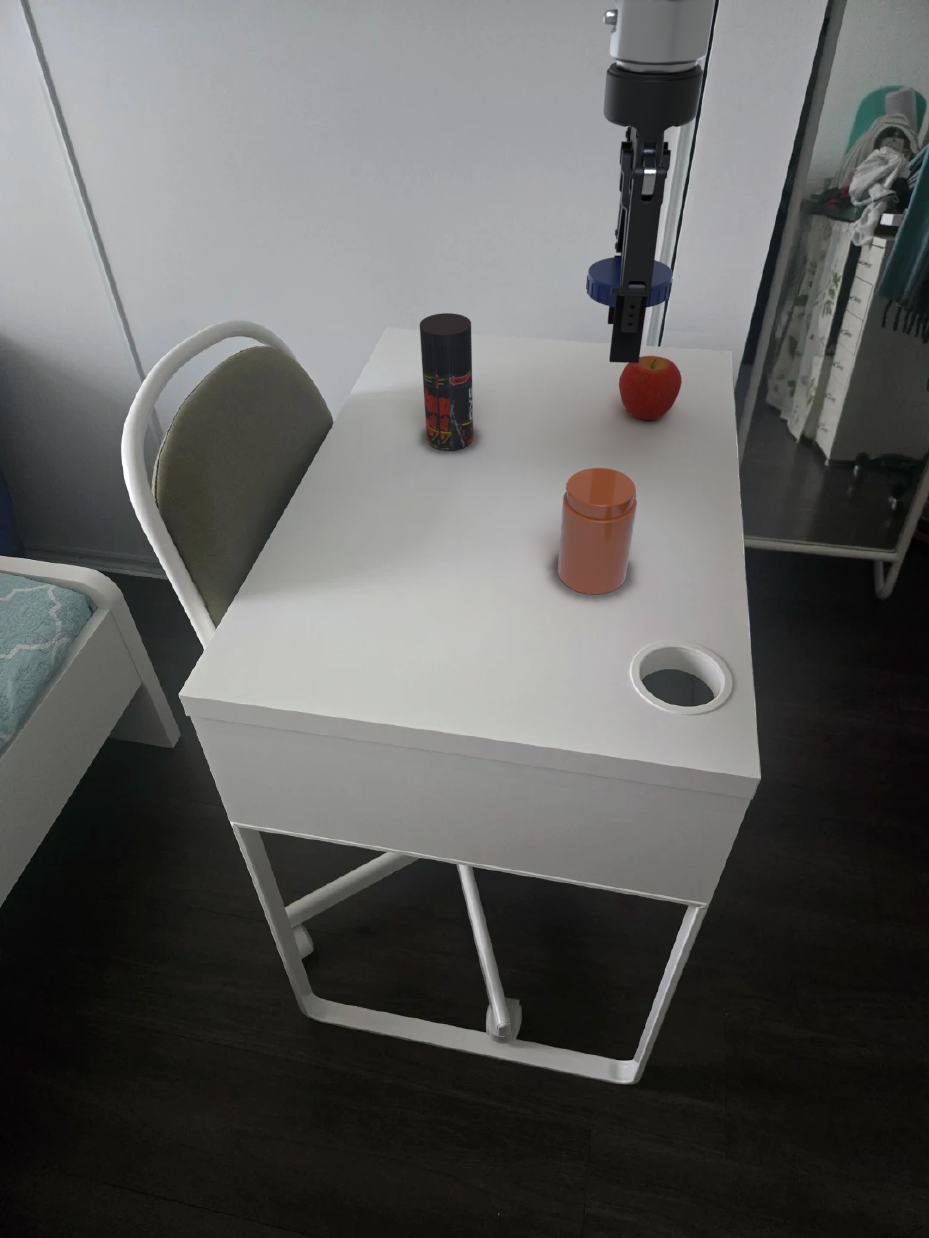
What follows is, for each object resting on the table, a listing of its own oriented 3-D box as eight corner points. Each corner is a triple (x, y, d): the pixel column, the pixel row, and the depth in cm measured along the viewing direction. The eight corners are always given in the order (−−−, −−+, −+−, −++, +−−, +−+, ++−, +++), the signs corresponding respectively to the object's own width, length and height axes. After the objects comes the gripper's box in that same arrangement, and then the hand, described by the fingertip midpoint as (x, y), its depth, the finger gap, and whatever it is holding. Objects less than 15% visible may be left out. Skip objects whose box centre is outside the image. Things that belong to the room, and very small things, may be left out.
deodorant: (425, 428, 105) (418, 314, 95) (471, 425, 106) (468, 311, 95) (428, 452, 101) (420, 336, 91) (475, 449, 101) (473, 333, 91)
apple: (667, 398, 110) (676, 343, 104) (682, 428, 104) (692, 371, 99) (610, 401, 109) (617, 346, 104) (622, 431, 104) (629, 374, 98)
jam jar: (615, 547, 86) (627, 462, 79) (634, 590, 81) (648, 504, 74) (551, 554, 86) (557, 469, 79) (566, 598, 81) (573, 511, 74)
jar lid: (603, 313, 73) (605, 292, 71) (574, 281, 78) (576, 261, 77) (684, 303, 74) (687, 282, 72) (650, 272, 79) (653, 252, 78)
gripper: (605, 39, 71) (583, 298, 87) (610, 91, 57) (583, 390, 72) (692, 39, 71) (654, 299, 86) (720, 91, 56) (669, 393, 72)
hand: (622, 341), depth 79 cm, fingers closed on jar lid, 8 cm apart
